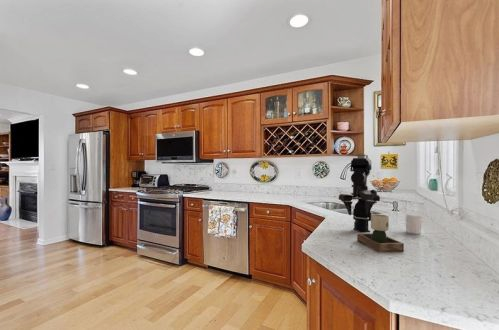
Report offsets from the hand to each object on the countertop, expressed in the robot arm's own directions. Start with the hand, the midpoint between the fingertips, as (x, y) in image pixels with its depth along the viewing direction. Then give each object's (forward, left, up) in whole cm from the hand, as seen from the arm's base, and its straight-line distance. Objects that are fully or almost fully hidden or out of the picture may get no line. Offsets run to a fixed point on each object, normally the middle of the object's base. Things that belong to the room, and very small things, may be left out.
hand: (358, 215), depth 120 cm
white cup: (-40, -11, -12) cm, 43 cm away
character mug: (-4, +10, -11) cm, 16 cm away
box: (-4, +10, -12) cm, 16 cm away
